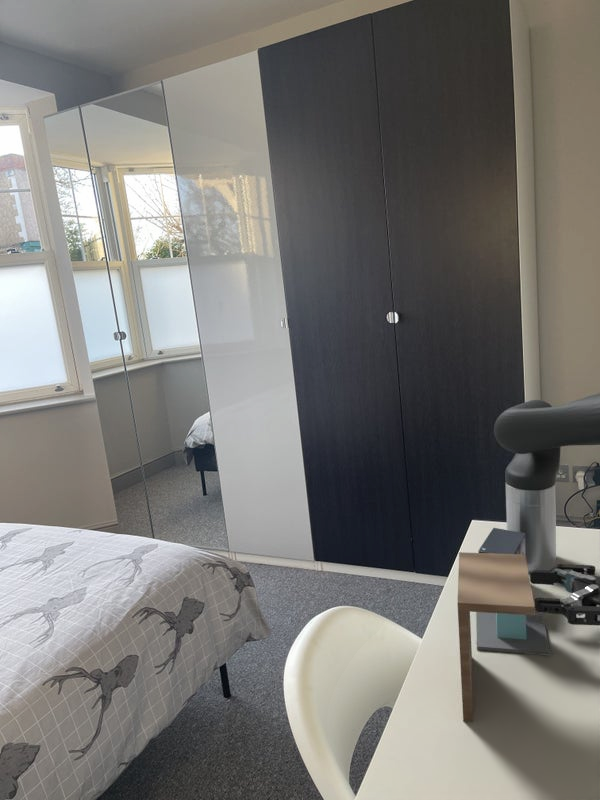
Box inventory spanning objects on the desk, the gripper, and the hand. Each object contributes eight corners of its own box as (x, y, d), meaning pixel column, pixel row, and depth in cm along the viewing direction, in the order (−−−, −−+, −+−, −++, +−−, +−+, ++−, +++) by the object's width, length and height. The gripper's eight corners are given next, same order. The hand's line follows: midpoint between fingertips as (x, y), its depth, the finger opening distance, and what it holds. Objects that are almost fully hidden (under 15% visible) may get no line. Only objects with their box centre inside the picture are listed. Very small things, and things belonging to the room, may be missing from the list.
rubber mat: (476, 614, 107) (476, 611, 107) (542, 618, 104) (542, 615, 104) (476, 649, 98) (476, 646, 98) (550, 655, 95) (549, 651, 94)
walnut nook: (464, 656, 96) (459, 552, 92) (527, 661, 94) (525, 554, 90) (463, 720, 83) (457, 602, 79) (536, 728, 81) (534, 606, 77)
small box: (515, 610, 107) (513, 556, 105) (478, 603, 111) (476, 550, 108) (527, 582, 116) (526, 531, 113) (493, 575, 119) (491, 526, 117)
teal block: (496, 621, 103) (494, 557, 101) (524, 623, 102) (522, 558, 100) (497, 637, 99) (495, 571, 97) (526, 639, 98) (525, 572, 95)
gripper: (632, 551, 99) (528, 548, 104) (657, 599, 86) (536, 593, 91) (632, 592, 101) (528, 587, 105) (656, 645, 88) (536, 637, 92)
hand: (532, 590), depth 98 cm, fingers open, 8 cm apart
